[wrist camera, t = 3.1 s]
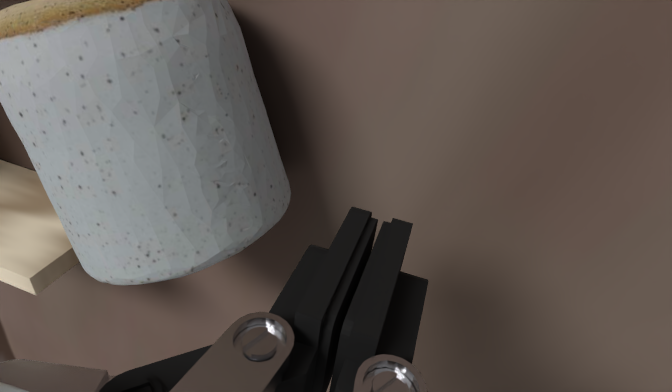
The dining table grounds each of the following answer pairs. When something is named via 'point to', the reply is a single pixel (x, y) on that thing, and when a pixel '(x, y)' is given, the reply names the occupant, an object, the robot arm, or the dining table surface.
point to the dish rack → (30, 232)
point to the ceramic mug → (143, 131)
